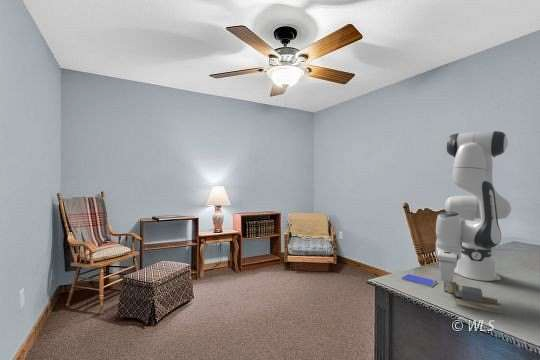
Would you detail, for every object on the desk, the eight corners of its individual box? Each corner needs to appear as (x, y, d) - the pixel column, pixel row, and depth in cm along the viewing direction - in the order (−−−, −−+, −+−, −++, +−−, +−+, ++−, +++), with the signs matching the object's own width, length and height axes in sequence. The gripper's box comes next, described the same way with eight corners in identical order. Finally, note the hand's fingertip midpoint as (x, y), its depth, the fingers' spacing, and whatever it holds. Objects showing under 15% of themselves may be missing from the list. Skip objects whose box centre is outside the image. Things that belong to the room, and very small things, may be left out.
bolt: (447, 282, 126) (447, 275, 126) (453, 283, 125) (453, 276, 125) (446, 292, 114) (447, 284, 114) (452, 293, 113) (452, 285, 113)
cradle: (444, 289, 117) (444, 279, 117) (496, 299, 107) (496, 288, 107) (442, 301, 105) (442, 290, 105) (500, 313, 96) (501, 301, 96)
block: (461, 298, 109) (461, 285, 109) (480, 302, 106) (481, 288, 106) (462, 303, 104) (462, 290, 104) (482, 307, 101) (482, 294, 101)
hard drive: (437, 280, 125) (408, 273, 134) (431, 284, 119) (401, 277, 128) (437, 284, 125) (408, 276, 134) (431, 288, 119) (401, 280, 128)
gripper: (441, 245, 123) (440, 276, 123) (436, 256, 106) (436, 292, 107) (458, 247, 119) (457, 279, 120) (456, 259, 103) (456, 296, 103)
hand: (447, 285), depth 113 cm, fingers closed
